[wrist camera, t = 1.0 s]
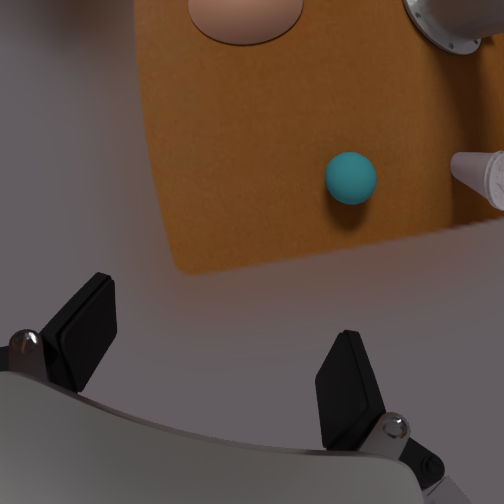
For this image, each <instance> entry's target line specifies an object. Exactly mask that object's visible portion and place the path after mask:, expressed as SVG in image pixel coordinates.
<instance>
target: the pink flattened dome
mask: <svg viewBox="0 0 504 504" xmlns="http://www.w3.org/2000/svg"><path fill="white" fill-rule="evenodd" d="M302 7H303V0H189V5H188V8H189V13H190V16H191V19H192V21H193V22H194V24H195V25H196V26H197V28H198V29H200V30H201V31H202V32H203V33H204V34H206V35H207V36H209V37H211V38H213V39H215V40H218V41H221V42H225V43H230V44H241V45H244V44H255V43H260V42H265V41H268V40H270V39H273V38H275V37H277V36H279V35H281V34H283V33H284V32H286V31H287V30H288V29H289V28H291V27H292V25H293V24H294V23H295V22H296V21H297V19H298V18H299V16H300V13H301V11H302Z"/></svg>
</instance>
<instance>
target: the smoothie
mask: <svg viewBox="0 0 504 504" xmlns="http://www.w3.org/2000/svg"><path fill="white" fill-rule="evenodd" d="M450 169H451V173H452V175H453V176H454V177H455V178H456V179H458V180H459V181H461V182H462V183H464V184H466V185H467V186H469V187H470V188H472V189H473V190H475V191H476V192H478V193H479V194H481V195H482V196H483V197H485V198H486V199H488V201H489V203H490V204H491V205H492V206H493V207H494V208H497V209H500V210H502V211H504V151H498V152H496V153H480V152H457V153H455V154H454V155H453V157H452V159H451V162H450Z"/></svg>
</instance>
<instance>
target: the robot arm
mask: <svg viewBox="0 0 504 504" xmlns="http://www.w3.org/2000/svg"><path fill="white" fill-rule="evenodd" d="M403 2H404V5H405V8H406V10H407V13H408V14H409V16H410V18H411V20H412V21H413V22H414V24H415V25H416V27H417V28H418V29H419V30H420V31H421V32H422V34H423V35H424V36H425V37H427V38H428V39H429V40H430V41H431V42H432V43H434V44H435V45H436V46H438V47H439V48H441V49H443V50H444V51H446V52H449V53H452V54H455V55H467V54H471V53H473V52H474V51H476V50H477V48H478V47H479V45H480V43H481V38H484V37H488V36H492V35H495V34H499V33H504V0H403ZM116 334H117V321H116V306H115V283H114V280H112V279H111V276H109V275H106V274H103V273H100V272H97V273H96V274H95V275H94V276H93V277H92V278H91V279H90V280H89V281H88V282H87V283H86V284H85V285H84V286H83V287H82V288H81V289H80V290H79V291H78V292H77V293H76V294H75V295H74V296H73V297H72V298H71V299H70V300H69V301H68V302H67V303H66V304H65V305H64V306H63V307H62V308H61V310H60V311H59V312H58V313H57V314H56V315H55V316H54V317H53V318H52V319H51V320H50V321H49V323H48V324H47V325H46V326H45V327H44V328H43V329H42V331H41V332H40V333H37V332H36V331H34V330H30V329H24V330H20V331H18V332H16V333H15V334H14V335H13V336H12V337H11V338H10V340H9V346H5V347H0V504H471V503H470V501H469V499H468V498H467V497H466V495H464V493H463V492H462V491H461V490H460V488H459V487H458V486H457V485H456V484H455V483H454V482H453V480H452V479H451V478H450V477H449V476H446V477H445V476H444V472H445V468H444V464H443V462H442V460H441V459H440V458H439V457H438V456H437V455H435V454H434V453H432V452H430V451H429V450H427V449H426V448H425V447H423V446H422V445H420V444H419V443H417V442H416V441H414V440H413V439H412V438H410V437H409V436H410V433H411V429H410V425H409V423H408V421H407V420H406V419H405V418H404V417H403V416H401V415H399V414H397V413H394V412H388V413H386V410H385V406H384V403H383V400H382V397H381V394H380V391H379V387H378V384H377V381H376V379H375V375H374V372H373V370H372V368H371V365H370V362H369V359H368V356H367V353H366V351H365V348H364V345H363V342H362V339H361V337H360V334H359V332H356V331H351V330H344V331H343V333H339V334H338V336H337V338H336V340H335V342H334V344H333V346H332V348H331V350H330V352H329V353H328V355H327V357H326V359H325V361H324V363H323V364H322V366H321V368H320V370H319V372H318V374H317V375H316V379H315V385H316V394H317V401H318V409H319V418H320V426H321V435H322V444H323V446H324V448H326V451H325V450H308V449H293V448H282V447H281V448H280V447H272V446H262V445H256V444H248V443H241V442H236V441H230V440H224V439H219V438H214V437H209V436H205V435H200V434H195V433H191V432H187V431H183V430H179V429H175V428H172V427H168V426H165V425H161V424H158V423H154V422H151V421H148V420H145V419H142V418H138V417H135V416H133V415H130V414H126V413H124V412H121V411H118V410H116V409H113V408H110V407H108V406H105V405H103V404H100V403H98V402H95V401H93V400H90V399H88V398H86V397H83V396H81V395H79V394H77V393H78V392H82V391H83V389H84V388H85V386H86V384H87V383H88V381H89V379H90V377H91V376H92V374H93V372H94V371H95V369H96V367H97V366H98V364H99V362H100V361H101V359H102V358H103V356H104V354H105V353H106V351H107V350H108V348H109V346H110V345H111V343H112V342H113V340H114V338H115V337H116Z"/></svg>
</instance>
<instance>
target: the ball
mask: <svg viewBox="0 0 504 504" xmlns="http://www.w3.org/2000/svg"><path fill="white" fill-rule="evenodd" d="M376 180H377V179H376V172H375V169H374V167H373V165H372V164H371V163H370V161H369V160H368V159H367V158H365V157H364V156H362V155H360V154H358V153H353V152H346V153H342V154H339V155H337V156H336V157H334V158H333V159H332V160H331V161H330V162H329V164H328V166H327V168H326V171H325V183H326V187H327V189H328V191H329V192H330V194H331V195H332V196H333V197H334V198H335V199H336V200H338V201H339V202H342V203H345V204H349V205H354V204H359V203H362V202H364V201H365V200H367V199H368V198H369V197H370V196H371V195H372V193H373V192H374V190H375V187H376Z"/></svg>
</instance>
